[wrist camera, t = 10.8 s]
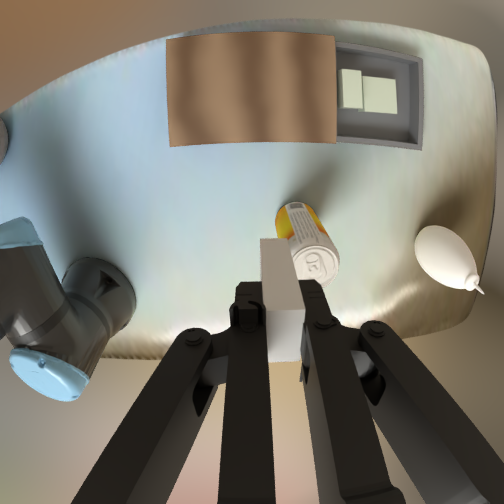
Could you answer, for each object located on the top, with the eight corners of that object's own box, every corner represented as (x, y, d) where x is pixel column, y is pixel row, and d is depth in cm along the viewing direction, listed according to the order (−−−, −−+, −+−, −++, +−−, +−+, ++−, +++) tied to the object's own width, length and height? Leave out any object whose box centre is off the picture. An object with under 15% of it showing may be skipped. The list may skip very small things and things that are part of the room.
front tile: (343, 107, 31) (362, 108, 31) (341, 68, 29) (361, 70, 29) (333, 108, 36) (350, 109, 36) (331, 74, 34) (348, 75, 34)
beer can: (279, 242, 45) (291, 299, 32) (270, 205, 43) (279, 250, 29) (318, 233, 45) (345, 286, 31) (311, 196, 42) (338, 235, 29)
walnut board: (181, 142, 39) (169, 147, 33) (177, 49, 33) (166, 39, 27) (324, 139, 38) (336, 143, 33) (323, 46, 32) (334, 35, 27)
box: (324, 139, 38) (330, 141, 35) (323, 46, 32) (329, 40, 29) (410, 147, 38) (421, 150, 35) (411, 61, 32) (422, 58, 29)
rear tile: (397, 113, 33) (389, 113, 36) (395, 79, 31) (387, 81, 34) (364, 111, 34) (358, 111, 36) (362, 76, 31) (356, 78, 34)
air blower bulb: (447, 225, 44) (510, 275, 27) (427, 263, 47) (481, 322, 31) (417, 209, 43) (484, 259, 26) (397, 250, 46) (451, 313, 30)
